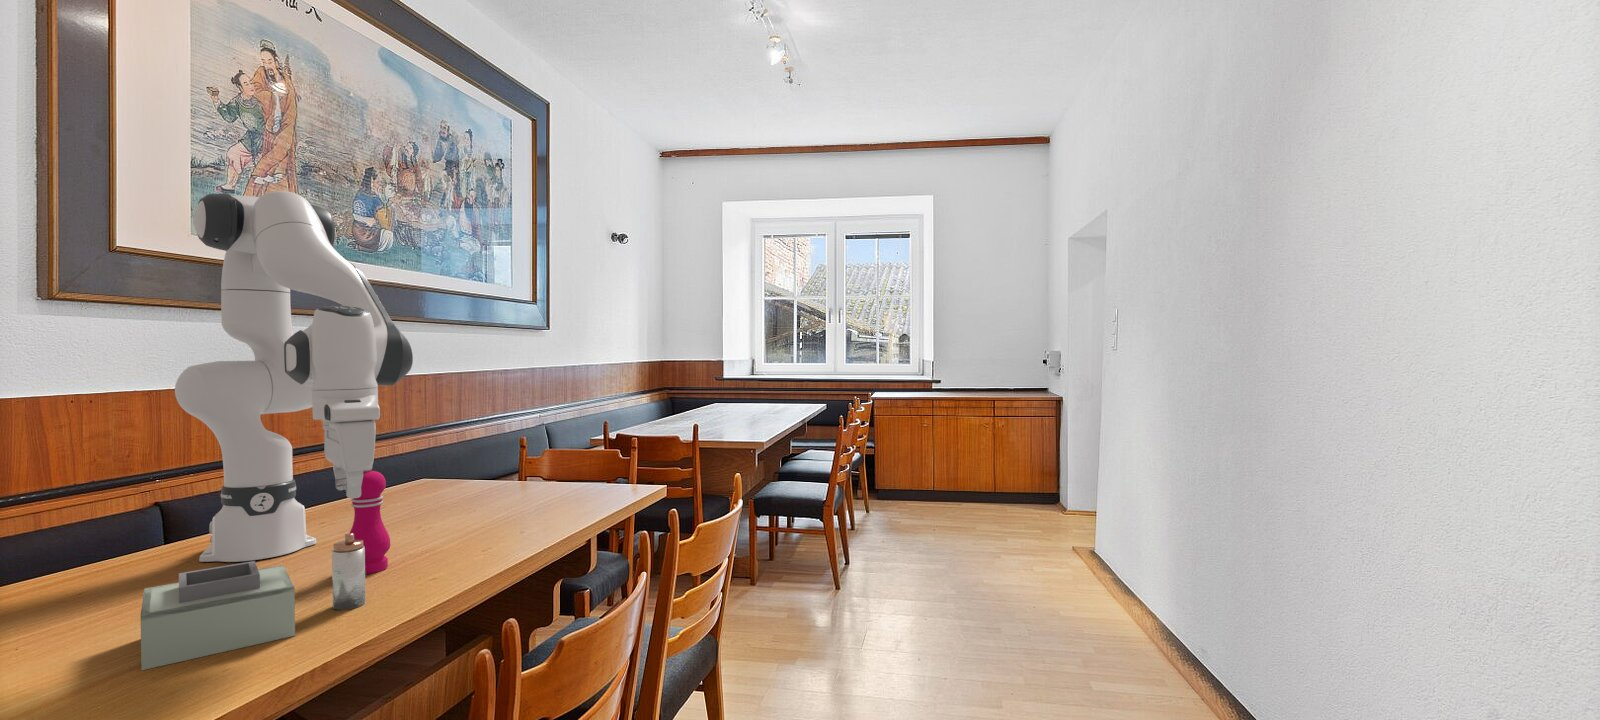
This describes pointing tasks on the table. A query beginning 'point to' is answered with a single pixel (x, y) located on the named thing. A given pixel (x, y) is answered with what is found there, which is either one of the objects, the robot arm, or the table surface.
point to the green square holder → (215, 612)
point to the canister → (348, 573)
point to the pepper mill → (371, 522)
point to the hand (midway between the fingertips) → (348, 493)
